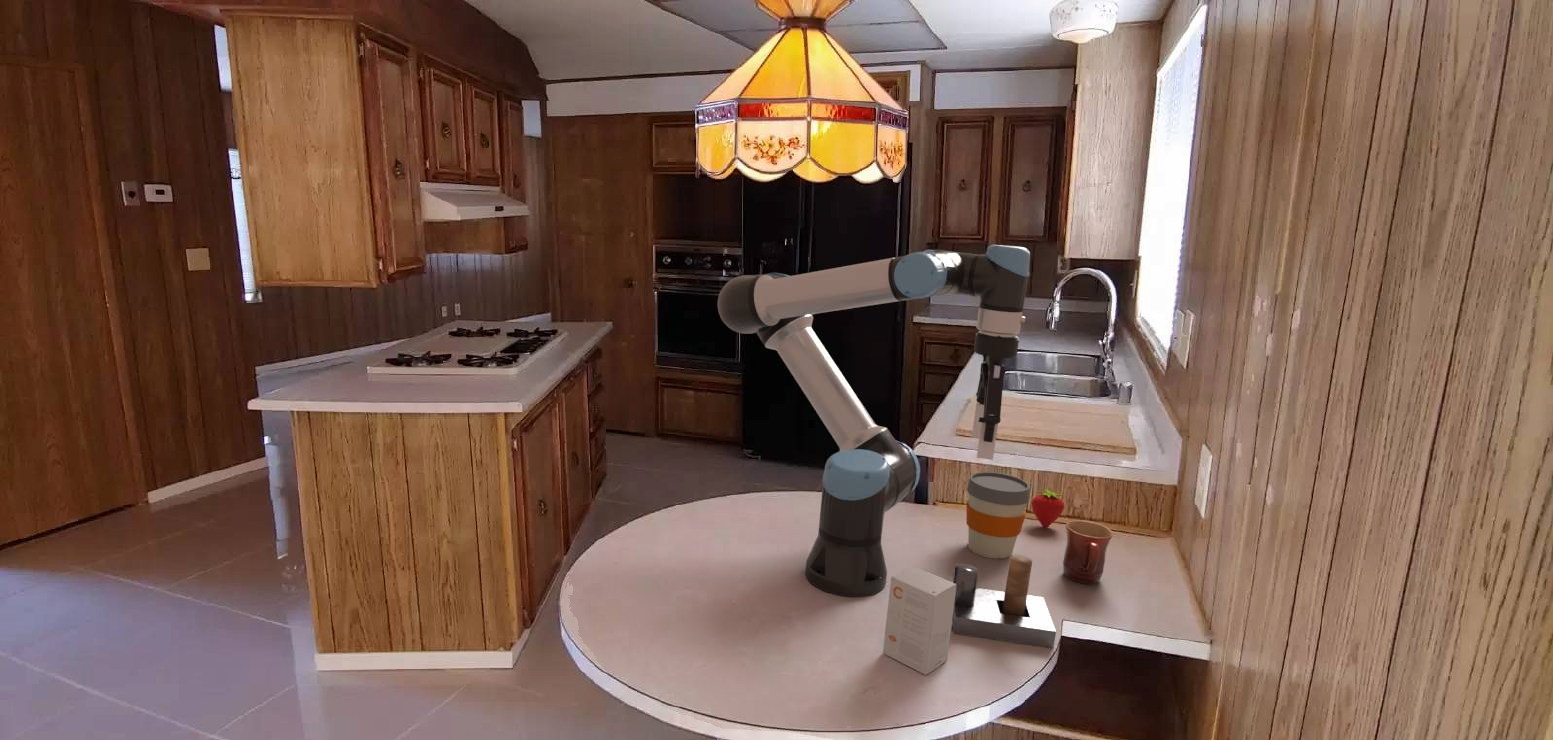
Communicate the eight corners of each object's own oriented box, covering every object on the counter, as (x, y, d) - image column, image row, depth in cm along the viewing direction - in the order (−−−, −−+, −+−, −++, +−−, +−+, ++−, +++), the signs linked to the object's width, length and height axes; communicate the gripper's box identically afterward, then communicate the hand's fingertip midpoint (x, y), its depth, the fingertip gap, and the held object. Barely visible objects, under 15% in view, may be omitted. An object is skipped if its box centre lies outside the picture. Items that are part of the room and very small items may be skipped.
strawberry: (1023, 521, 185) (1029, 480, 183) (1053, 522, 186) (1059, 481, 184) (1035, 532, 179) (1042, 490, 177) (1066, 532, 180) (1073, 490, 178)
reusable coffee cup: (1025, 566, 161) (1035, 495, 158) (961, 557, 162) (971, 487, 159) (1016, 541, 173) (1026, 475, 170) (957, 533, 174) (966, 468, 172)
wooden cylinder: (1001, 628, 135) (1011, 562, 133) (999, 618, 138) (1009, 553, 136) (1023, 631, 134) (1033, 565, 132) (1020, 621, 138) (1030, 556, 136)
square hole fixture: (950, 633, 132) (957, 583, 130) (946, 599, 144) (952, 553, 142) (1053, 648, 130) (1061, 597, 128) (1040, 612, 142) (1048, 565, 140)
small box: (947, 661, 124) (958, 583, 121) (925, 676, 119) (935, 596, 116) (904, 639, 129) (913, 564, 126) (881, 653, 124) (890, 576, 122)
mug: (1055, 564, 162) (1062, 517, 160) (1100, 571, 161) (1108, 524, 159) (1063, 591, 151) (1072, 540, 149) (1112, 598, 149) (1121, 547, 147)
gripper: (1028, 346, 129) (1010, 471, 133) (1011, 326, 153) (996, 432, 158) (981, 341, 130) (964, 465, 135) (971, 322, 154) (957, 427, 159)
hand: (981, 447), depth 146 cm, fingers open, 13 cm apart
